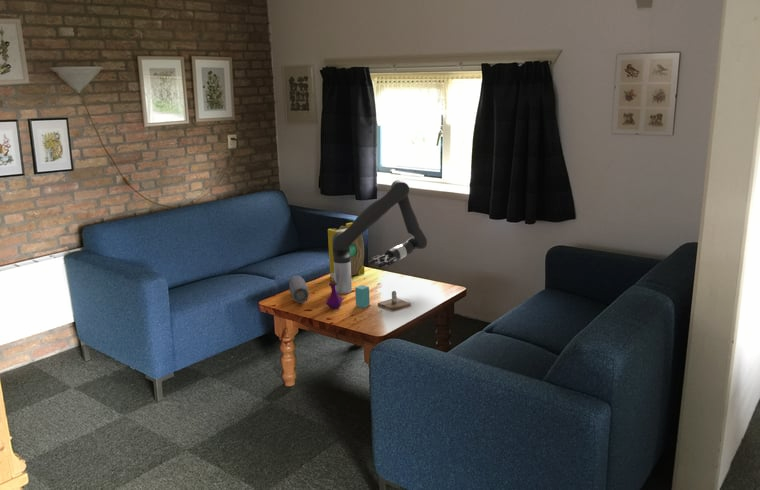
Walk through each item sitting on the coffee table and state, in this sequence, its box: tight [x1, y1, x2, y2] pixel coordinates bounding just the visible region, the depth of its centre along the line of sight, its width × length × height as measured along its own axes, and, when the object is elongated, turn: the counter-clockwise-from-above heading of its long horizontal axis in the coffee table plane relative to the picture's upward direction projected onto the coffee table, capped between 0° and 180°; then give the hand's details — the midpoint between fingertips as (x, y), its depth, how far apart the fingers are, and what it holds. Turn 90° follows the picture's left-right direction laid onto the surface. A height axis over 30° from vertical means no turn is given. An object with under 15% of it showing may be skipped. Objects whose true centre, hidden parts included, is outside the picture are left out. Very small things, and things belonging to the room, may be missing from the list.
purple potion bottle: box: [325, 273, 344, 310], centre depth 334 cm, size 8×8×18 cm
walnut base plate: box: [377, 290, 412, 312], centre depth 334 cm, size 12×12×8 cm
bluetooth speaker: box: [288, 275, 310, 304], centre depth 350 cm, size 23×9×10 cm, turn 12°
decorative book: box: [327, 222, 365, 278], centre depth 386 cm, size 20×11×30 cm, turn 132°
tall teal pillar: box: [354, 284, 371, 309], centre depth 336 cm, size 5×5×10 cm
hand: (373, 265), depth 340 cm, fingers open, 8 cm apart
